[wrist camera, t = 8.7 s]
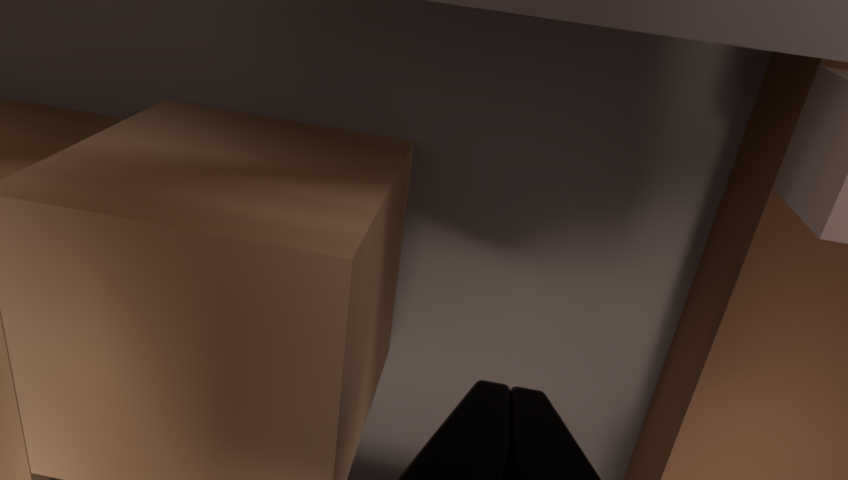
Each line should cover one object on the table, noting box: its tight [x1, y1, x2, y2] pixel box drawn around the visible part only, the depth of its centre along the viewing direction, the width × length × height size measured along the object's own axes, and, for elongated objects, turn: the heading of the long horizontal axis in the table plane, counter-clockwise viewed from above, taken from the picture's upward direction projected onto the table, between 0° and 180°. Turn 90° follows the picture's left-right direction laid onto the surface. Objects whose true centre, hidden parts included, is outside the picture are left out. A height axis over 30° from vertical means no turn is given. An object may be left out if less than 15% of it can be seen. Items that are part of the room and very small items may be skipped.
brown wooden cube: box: [0, 100, 414, 480], centre depth 9 cm, size 4×4×4 cm
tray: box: [0, 0, 848, 480], centre depth 11 cm, size 14×11×3 cm
